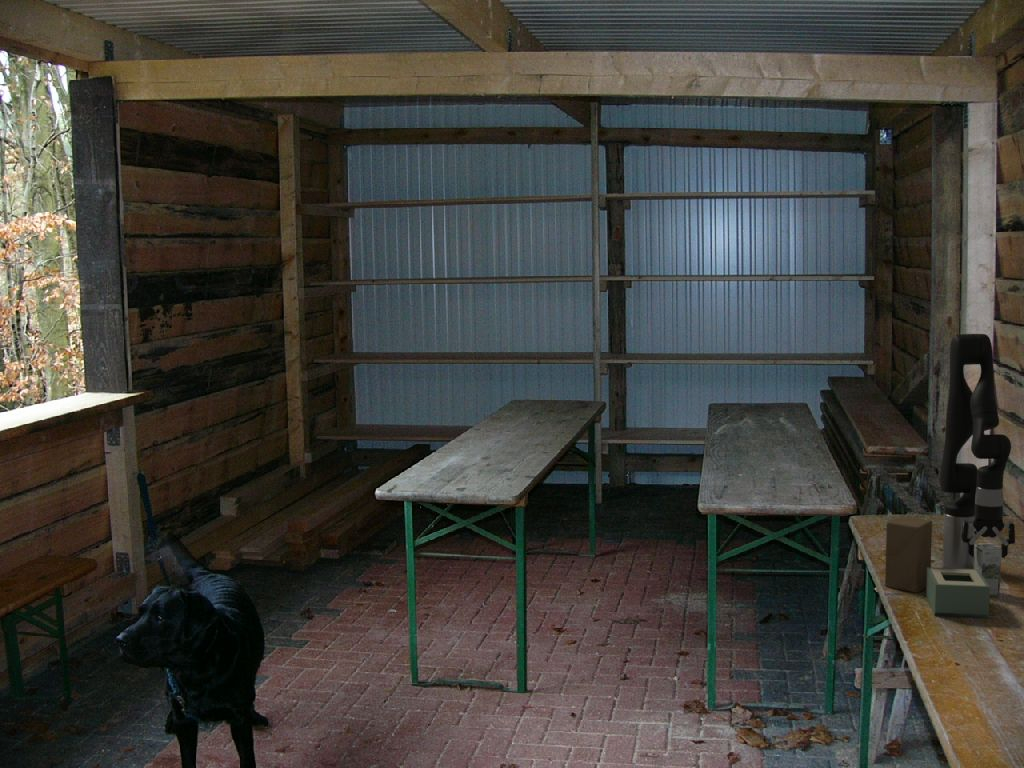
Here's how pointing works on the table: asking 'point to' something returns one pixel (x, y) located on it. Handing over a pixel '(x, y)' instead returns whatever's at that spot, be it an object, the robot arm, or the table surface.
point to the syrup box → (989, 564)
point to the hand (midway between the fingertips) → (987, 556)
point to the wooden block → (908, 553)
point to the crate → (957, 592)
